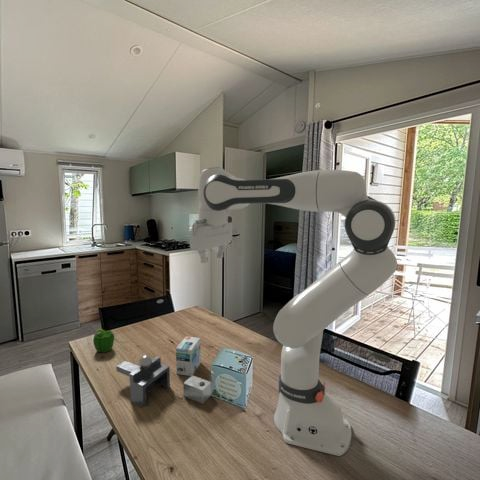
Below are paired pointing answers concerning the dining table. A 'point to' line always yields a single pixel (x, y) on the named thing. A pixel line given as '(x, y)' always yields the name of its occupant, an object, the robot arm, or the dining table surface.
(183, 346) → the light bulb box
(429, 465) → the dining table surface
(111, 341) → the bell pepper
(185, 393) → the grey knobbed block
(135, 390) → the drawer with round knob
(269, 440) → the dining table surface
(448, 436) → the dining table surface
